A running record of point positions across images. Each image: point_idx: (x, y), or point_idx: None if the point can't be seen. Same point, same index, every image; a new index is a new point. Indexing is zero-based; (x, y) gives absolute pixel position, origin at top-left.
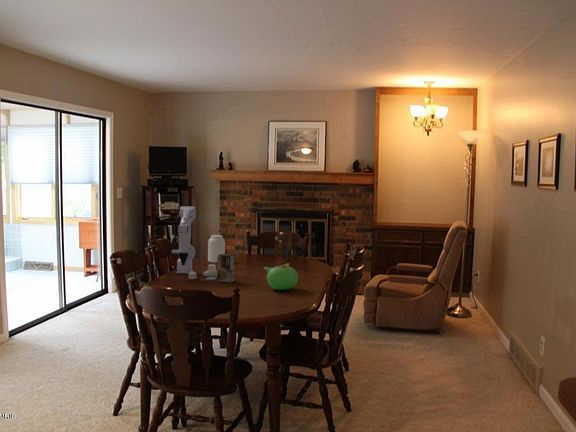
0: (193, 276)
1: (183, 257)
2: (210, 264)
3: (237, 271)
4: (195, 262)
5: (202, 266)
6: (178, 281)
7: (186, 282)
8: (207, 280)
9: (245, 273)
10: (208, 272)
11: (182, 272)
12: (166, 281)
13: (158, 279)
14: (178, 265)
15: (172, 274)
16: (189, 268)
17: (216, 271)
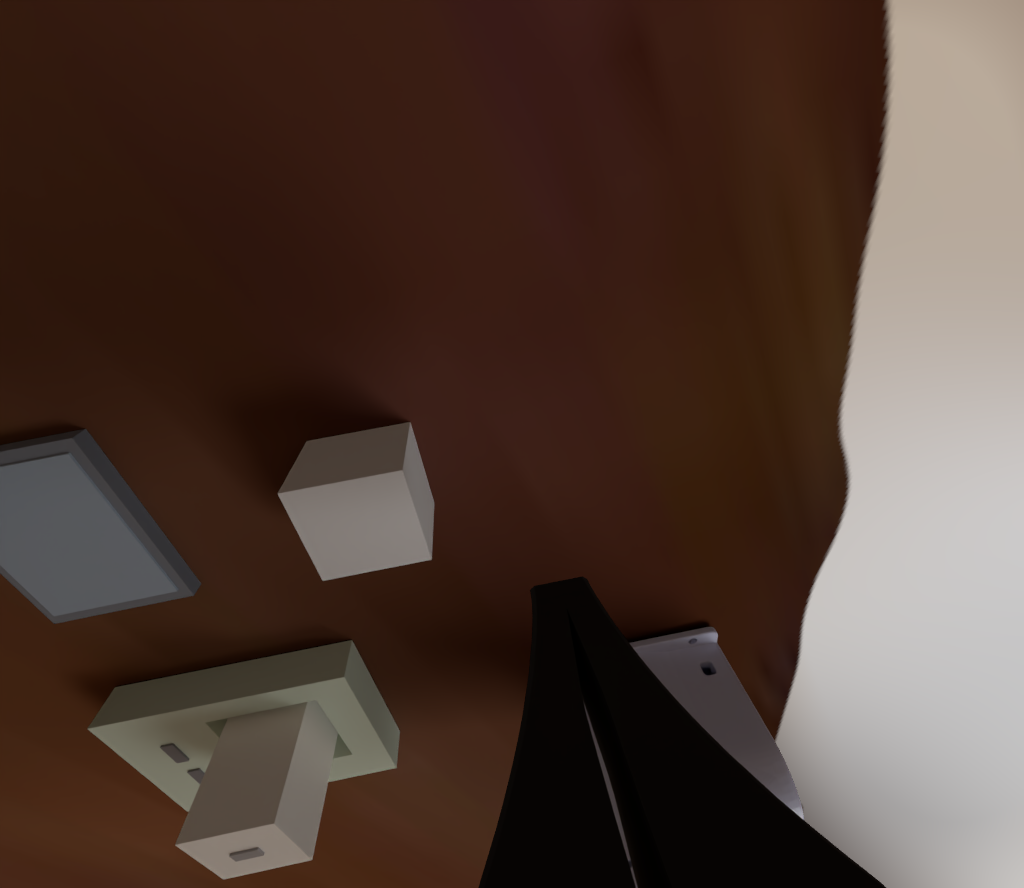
0: (316, 461)
1: (579, 836)
2: (297, 861)
3: None
4: None
5: None
6: (440, 123)
7: (213, 77)
8: (37, 438)
9: (60, 852)
10: (297, 710)
11: (650, 649)
12: (680, 5)
13: (877, 164)
14: (743, 725)
15: (739, 562)
16: (589, 724)
17: None
